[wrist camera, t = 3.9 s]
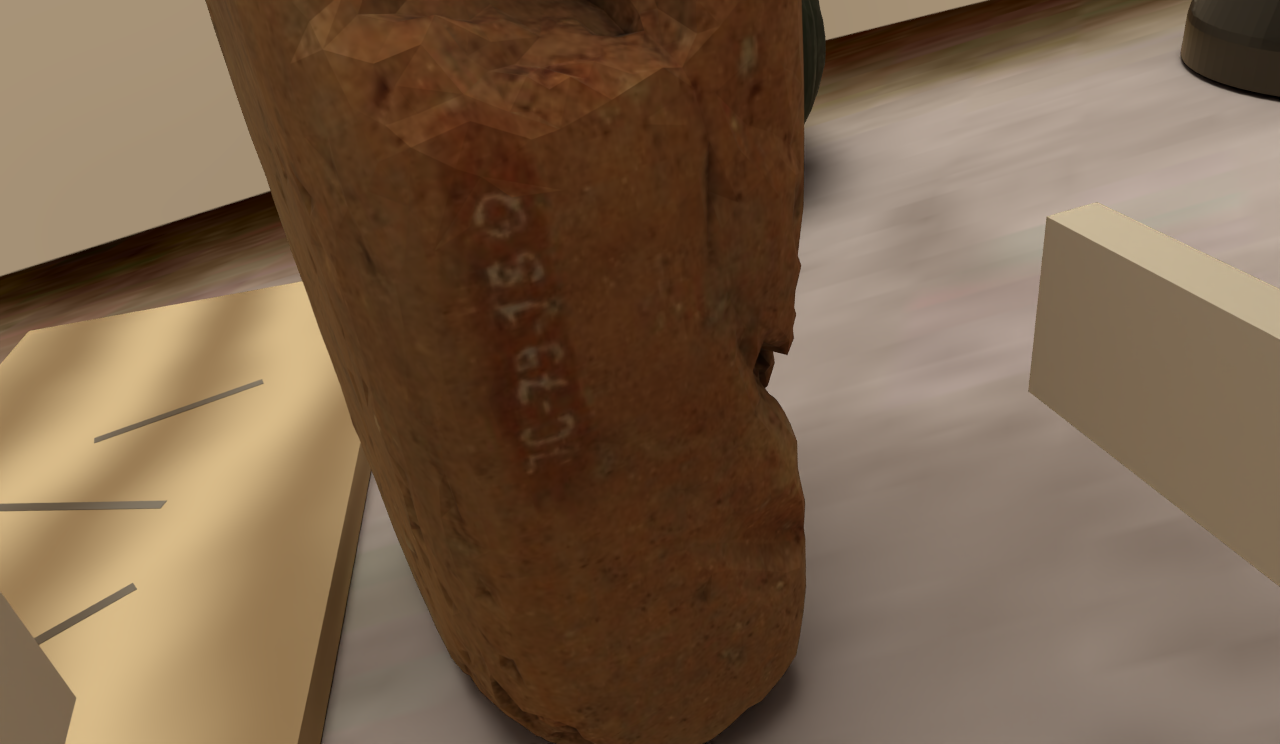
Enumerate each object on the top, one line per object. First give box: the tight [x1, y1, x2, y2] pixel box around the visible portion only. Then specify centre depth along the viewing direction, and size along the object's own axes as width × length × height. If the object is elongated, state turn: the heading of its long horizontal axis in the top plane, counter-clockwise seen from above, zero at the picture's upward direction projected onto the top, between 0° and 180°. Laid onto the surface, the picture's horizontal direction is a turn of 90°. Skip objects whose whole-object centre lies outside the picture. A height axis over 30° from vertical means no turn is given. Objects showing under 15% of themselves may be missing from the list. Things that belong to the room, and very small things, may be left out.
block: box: [205, 0, 806, 744], centre depth 16 cm, size 11×8×20 cm
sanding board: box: [0, 282, 371, 744], centre depth 24 cm, size 14×28×1 cm, turn 7°
